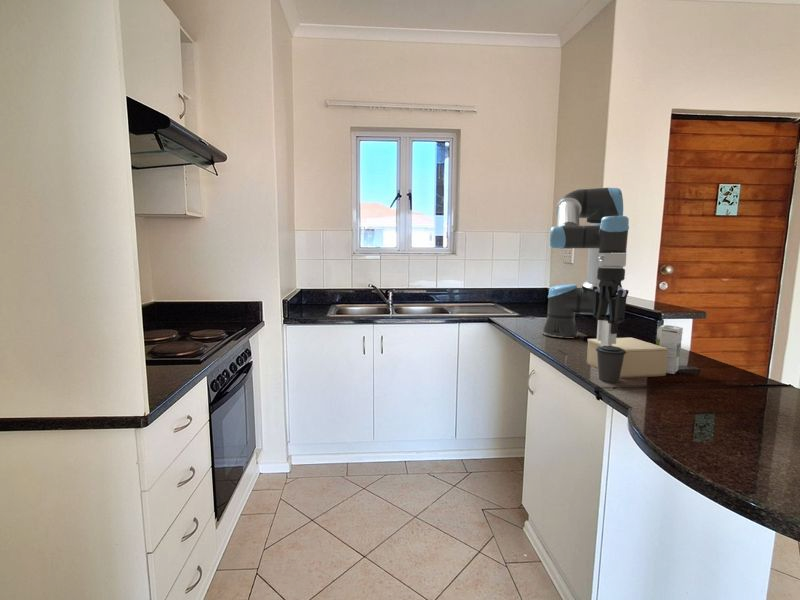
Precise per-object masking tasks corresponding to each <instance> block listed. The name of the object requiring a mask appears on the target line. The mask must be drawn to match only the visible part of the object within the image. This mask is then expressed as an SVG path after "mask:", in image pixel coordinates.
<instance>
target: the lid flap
mask: <svg viewBox="0 0 800 600" xmlns="http://www.w3.org/2000/svg"><path fill="white" fill-rule="evenodd" d="M606 320H607V319H606ZM606 320H602V329H601V341H597V338H587V342H588V341H590V342H592V343H595V344H598V345H600V347H601V346H615V347H618V348H621V349H624V350H625V352H631V351H655V350H667V348H665V347H662V346H658V345H656V344H654V343H651V342H647V341H644V340H641V339H638V338H634V337H616V344H606V341H607V327H608V321H609V320H607V321H606Z"/></svg>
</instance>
